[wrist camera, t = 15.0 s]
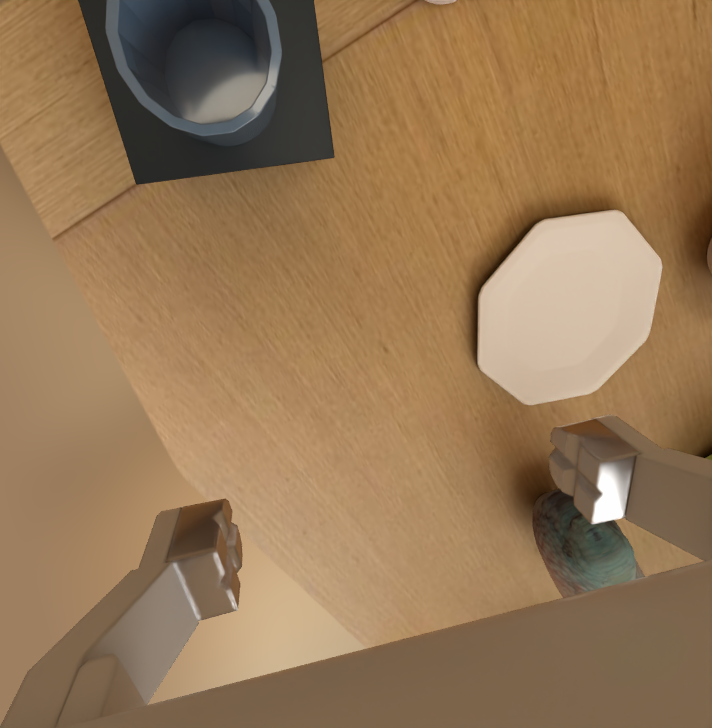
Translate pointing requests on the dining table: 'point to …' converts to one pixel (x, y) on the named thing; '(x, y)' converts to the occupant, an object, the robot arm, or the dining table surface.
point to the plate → (567, 306)
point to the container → (198, 158)
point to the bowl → (709, 256)
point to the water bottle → (440, 1)
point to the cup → (200, 63)
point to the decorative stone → (580, 547)
